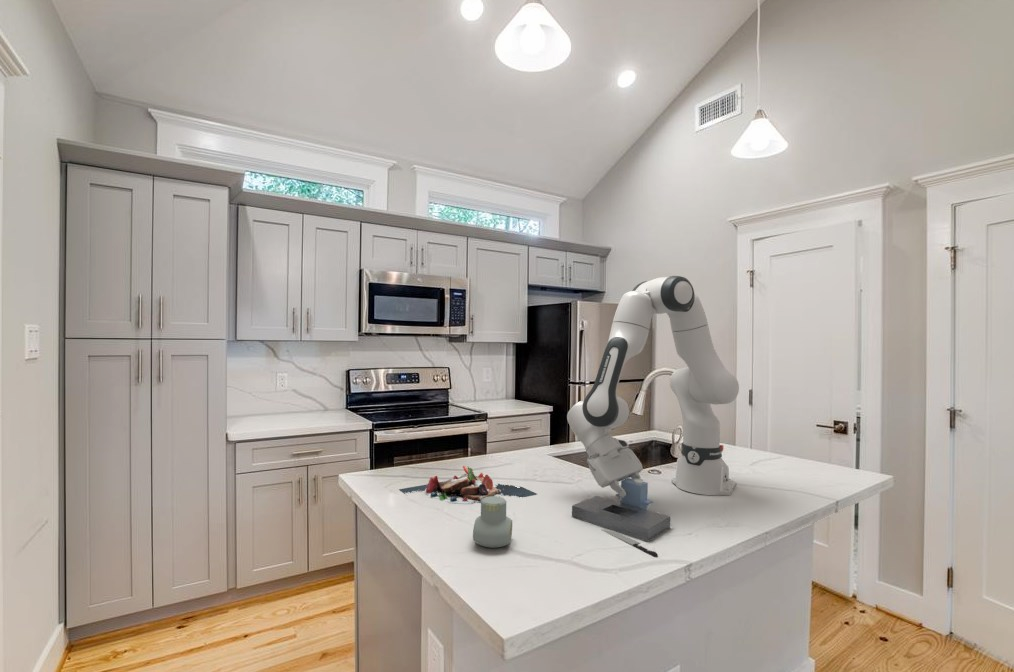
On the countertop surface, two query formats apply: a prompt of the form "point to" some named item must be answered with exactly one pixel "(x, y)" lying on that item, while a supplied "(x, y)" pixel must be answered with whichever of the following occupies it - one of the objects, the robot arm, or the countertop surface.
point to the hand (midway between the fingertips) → (633, 492)
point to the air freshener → (493, 523)
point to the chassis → (622, 517)
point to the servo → (635, 493)
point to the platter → (467, 488)
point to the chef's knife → (631, 542)
